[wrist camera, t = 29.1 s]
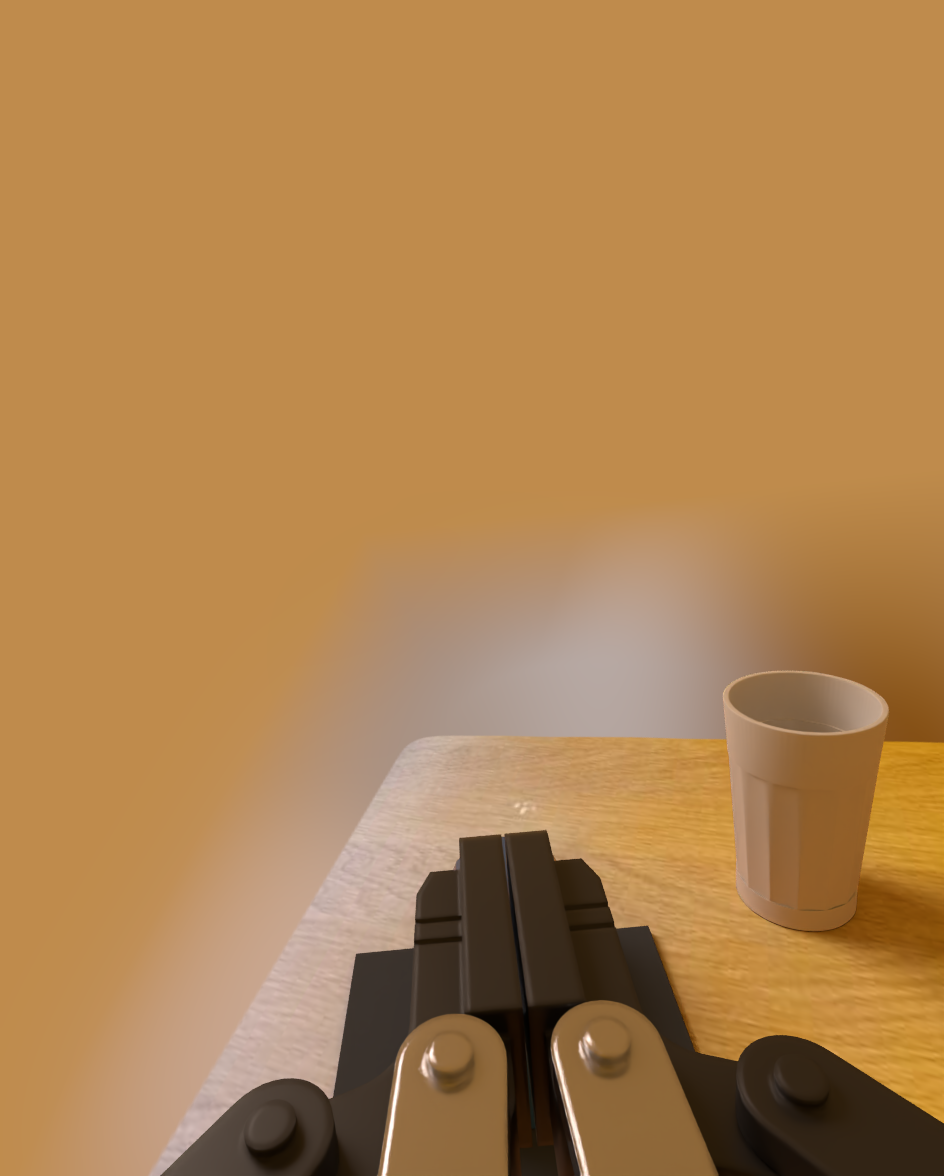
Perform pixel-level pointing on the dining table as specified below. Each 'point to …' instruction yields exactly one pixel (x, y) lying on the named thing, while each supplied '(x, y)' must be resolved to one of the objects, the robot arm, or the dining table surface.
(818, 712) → the cup
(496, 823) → the dining table surface
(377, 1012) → the mat
